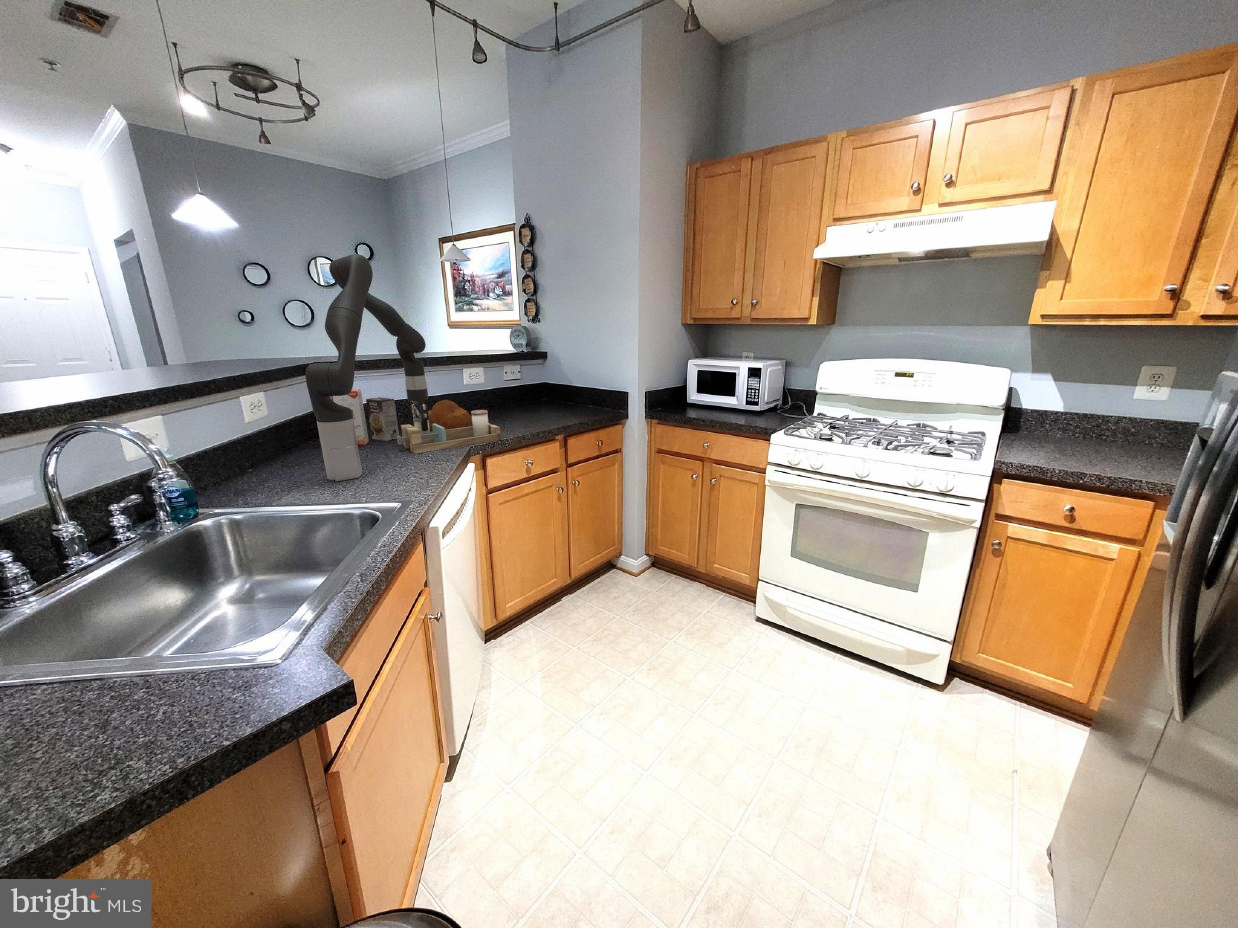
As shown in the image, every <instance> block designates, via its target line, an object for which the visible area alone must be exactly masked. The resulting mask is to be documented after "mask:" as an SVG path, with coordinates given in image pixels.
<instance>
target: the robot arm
mask: <svg viewBox="0 0 1238 928" xmlns="http://www.w3.org/2000/svg"><path fill="white" fill-rule="evenodd" d="M328 268H329V270H328V271H329V273H330V276H331V278H332V280H333V281H334V282H335V283H336V285H338V287H340V288H341V290H340V292H339V293H338V294H337V296H336V297H335V298H334V299H333V301H331V303H330V305H329V306H328V308H327V312H326V316H325V322H324V330H325V333H326V334H327V337H328V338H329V340H330V341H331V343H332V344H333V346H334V348H335V349H336V351H337V355H338V357H337V361H336V362H324V363H323V362H322V363H320V362H319V363H318V362H317V363H310V364H308V366H307V367H306V368H305V384H306V387H307V388H306V389H307V391H308V395H309V400H310V404H311V408H312V411H313V414H314V416H315V419H316V423H317V429H318V436H319V442H320V448H321V452H322V457H323V458H322V459H323V463H324V467H325V473H326V477H327V480H328V481H334V480H335V482H341V481H346V480H353V479H358V478H360V476H362V475H363V470H362V469H363V467H362V463H361V459H360V451H359V447H358V446H359V445H357V439H356V433H355V426H354V420H353V414H352V410H351V409H350V408H348V407H345V406H341V405H339V404H337V403H335V402H333V401H332V400H331V398H330V396H344V395H348V394H349V393H350V392H351V390H352V389H354V382H355V367H356V354H357V348H358V343H359V342H358V341H359V337H360V333H361V330H362V329H361V328H362V321H363V314H364V309H365V310H366V311H368V312H369V313H370V314H371V315H372V316H373V317H374V318H375V319H376V320H377V321H378V322H379V323H380V325H381V326H382V327H383V328H384V330H385V331H387V332H388V334H390V335H391V336H392V337H397V338H396V340H395V347H396V350H397V352H398V355H399V358H400V360H401V362H402V365H403V371H404V377H405V378H404V383H405V391H406V397H407V398H406V399H407V401H409V402H410V409H411V415H412V417H413V418H416V417H420V420H421V426H422V431H428V422H427V421H428V420H429V414H428V411H429V409H428V404H427V403H426V404H425V401H427V400H429V393H428V385H427V378H426V375H425V374H426V373H425V366H424V365H425V364H424V362H423V361H422V360H421V359H418V358H416V355H415V354H420V353H423V352H424V351H425V349H426V344H427V343H426V341H425V338H424V337H423V335H422V334H421V333H420V332H419V331H417V329H415V328H414V327H412V326H411V325H410V324H408V323H407V322H406V321H405V320H404V318H403V317H402V316H401V315H400V312H398V311H397V310H396V309H395V308H394V307H393V306H392V305H391V304H389V303H387V302H386V301H384V300H382V299H380V298H378V297H376V296H374V295H373V294H371V293H370V292H369V291H370V289H371V285H372V282H373V277H374V276H373V267H372V265H371V262H370V260H369V259H368V258H367V257H366V256H364V255H362V254H360V253H354V254H353V253H352V254H349V255H346V256H343V257H340V258H337V259H334V260H333V261H331V262H330V263H329V266H328ZM424 416H425V417H424Z"/></svg>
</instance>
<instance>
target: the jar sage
mask: <svg viewBox="0 0 1238 928" xmlns="http://www.w3.org/2000/svg"><path fill="white" fill-rule="evenodd" d="M412 420H413V426H414V427H415V428H417V429H419V430H421V433H426V432H430V428H429V420H428V421H427V422H428V431H422V426H421V420H420V417H416V418H414V417H413V419H412Z"/></svg>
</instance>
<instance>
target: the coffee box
mask: <svg viewBox="0 0 1238 928" xmlns="http://www.w3.org/2000/svg"><path fill="white" fill-rule="evenodd" d="M365 402H366V409H367V414H368V415H367V416H368V421H369V428H370V434H371V439H372V440H377V441H384V442H388V441H389V442H390V441H393V440H397V436H400V433H399V432H400V431H399V426H398V425H399V424H398V416H397V409H396V402H395V398H390V397H371V398H366V399H365ZM392 439H393V440H392Z"/></svg>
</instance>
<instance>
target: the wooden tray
mask: <svg viewBox="0 0 1238 928" xmlns="http://www.w3.org/2000/svg"><path fill="white" fill-rule="evenodd" d="M488 425H489V435H483V436H477V437H474V434H473V425H470V426H469V427H463V428H456V429H448V430H445V433H446V441H443V442H437V443H435V442H434V438H428V439H421V435H424V434H431V433H433V432H426V433H421V430H419V429H417V428H415V427H414V425H411V424H409V423H408V424H400V428H401V437H409V441H407V442H402V445H403V447H404V448H405V449H410V452H411V451H412V452H411V453H413V454H414V453H415V454H420V453H426V452H427V451H428V452H433V451H440V450H446V449H453V448H459V447H465V446H472V445H477V444H483V443H484V444H485V443H490V442H496V441H501V440H502V435H501V427H500V426H498V425H495V424H492V423H489V422H488ZM428 452H427V453H428Z"/></svg>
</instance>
